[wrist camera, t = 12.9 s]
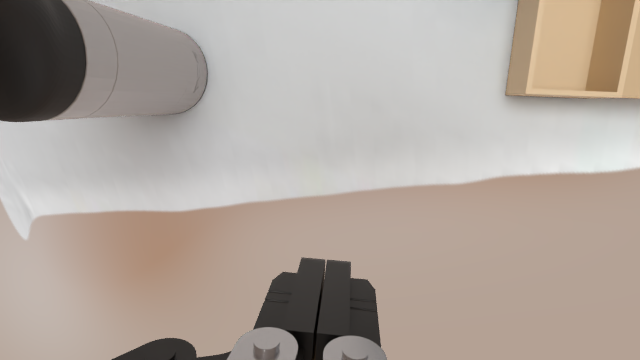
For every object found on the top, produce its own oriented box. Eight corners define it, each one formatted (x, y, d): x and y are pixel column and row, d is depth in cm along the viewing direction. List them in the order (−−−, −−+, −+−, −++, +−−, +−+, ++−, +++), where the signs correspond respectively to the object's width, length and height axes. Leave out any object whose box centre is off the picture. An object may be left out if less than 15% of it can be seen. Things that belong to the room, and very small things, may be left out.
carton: (505, 95, 37) (525, 93, 31) (527, -67, 34) (554, -101, 29) (646, 100, 35) (695, 100, 29) (682, -71, 32) (745, -108, 27)
